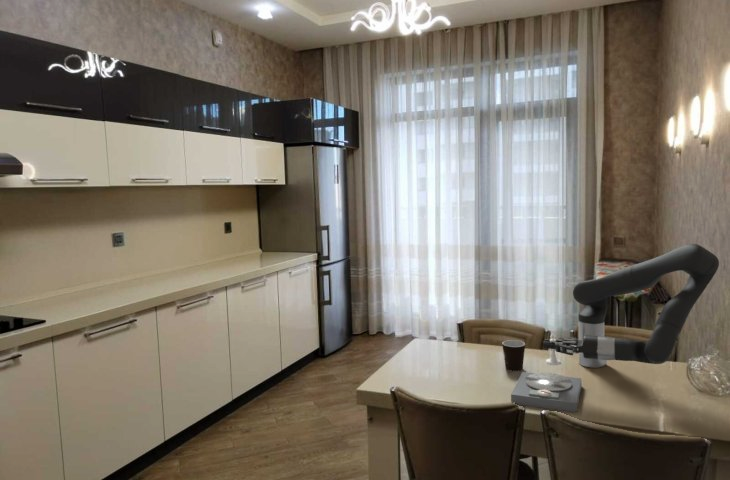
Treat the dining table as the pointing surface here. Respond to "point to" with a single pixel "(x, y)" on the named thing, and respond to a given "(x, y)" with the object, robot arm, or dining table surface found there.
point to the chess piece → (553, 355)
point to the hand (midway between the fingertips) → (543, 343)
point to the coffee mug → (513, 354)
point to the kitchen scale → (547, 391)
